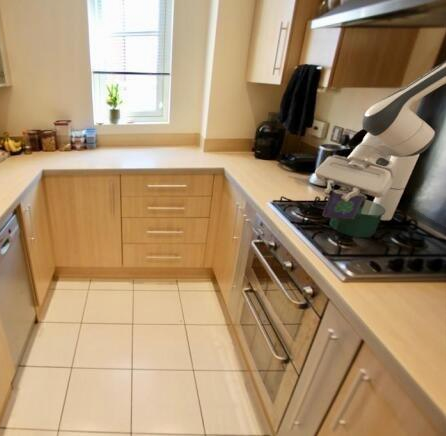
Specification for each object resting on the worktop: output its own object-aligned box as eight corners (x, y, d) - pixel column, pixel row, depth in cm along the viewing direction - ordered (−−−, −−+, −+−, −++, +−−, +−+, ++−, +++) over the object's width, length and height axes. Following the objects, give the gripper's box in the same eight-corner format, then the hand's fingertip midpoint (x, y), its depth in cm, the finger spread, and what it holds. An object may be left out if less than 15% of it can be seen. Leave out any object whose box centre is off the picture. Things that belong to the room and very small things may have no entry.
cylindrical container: (382, 221, 118) (409, 156, 107) (364, 213, 124) (388, 151, 113) (396, 218, 120) (424, 154, 108) (377, 210, 126) (402, 149, 115)
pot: (386, 229, 113) (395, 208, 109) (355, 243, 105) (364, 221, 101) (347, 214, 124) (354, 194, 120) (316, 226, 116) (323, 205, 112)
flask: (352, 216, 104) (366, 187, 98) (355, 221, 101) (369, 192, 95) (321, 212, 105) (333, 184, 100) (323, 217, 103) (335, 188, 97)
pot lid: (393, 211, 108) (398, 199, 106) (369, 221, 102) (374, 208, 100) (349, 196, 120) (353, 185, 117) (325, 205, 114) (329, 193, 112)
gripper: (328, 148, 105) (302, 181, 105) (400, 164, 88) (368, 203, 89) (332, 159, 108) (307, 191, 109) (402, 177, 92) (371, 214, 93)
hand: (335, 196), depth 99 cm, fingers closed on flask, 4 cm apart
